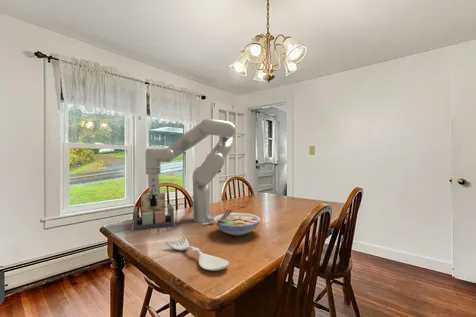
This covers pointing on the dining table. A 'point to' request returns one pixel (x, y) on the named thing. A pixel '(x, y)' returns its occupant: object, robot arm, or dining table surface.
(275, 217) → the dining table surface
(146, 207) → the birch sheet
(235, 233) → the ramen bowl
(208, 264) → the white spork utensil
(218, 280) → the dining table surface
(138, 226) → the offcut rack
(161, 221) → the terracotta offcut
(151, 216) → the sage offcut
